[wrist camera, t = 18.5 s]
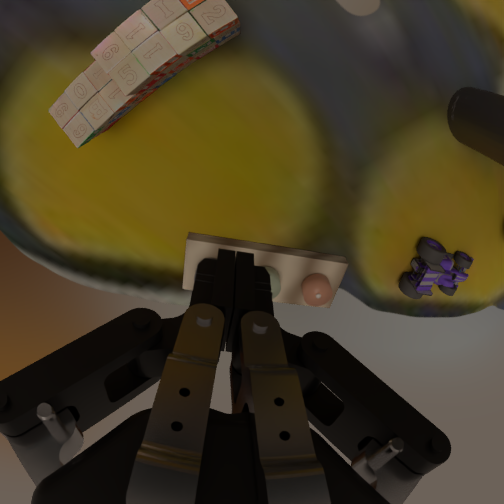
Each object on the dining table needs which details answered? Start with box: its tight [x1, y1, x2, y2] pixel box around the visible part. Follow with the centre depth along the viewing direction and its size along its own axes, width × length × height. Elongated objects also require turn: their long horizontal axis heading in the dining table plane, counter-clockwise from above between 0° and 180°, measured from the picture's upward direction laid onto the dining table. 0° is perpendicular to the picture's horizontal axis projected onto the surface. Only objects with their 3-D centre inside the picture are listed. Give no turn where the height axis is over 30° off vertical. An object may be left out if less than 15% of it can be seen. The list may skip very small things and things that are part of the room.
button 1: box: [301, 274, 333, 306], centre depth 47 cm, size 4×4×3 cm
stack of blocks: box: [48, 0, 240, 148], centre depth 28 cm, size 21×6×12 cm, turn 123°
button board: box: [183, 232, 348, 308], centre depth 49 cm, size 24×9×2 cm, turn 79°
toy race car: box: [399, 237, 474, 299], centre depth 47 cm, size 10×15×6 cm, turn 78°
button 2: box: [265, 267, 281, 299], centre depth 46 cm, size 4×4×3 cm
